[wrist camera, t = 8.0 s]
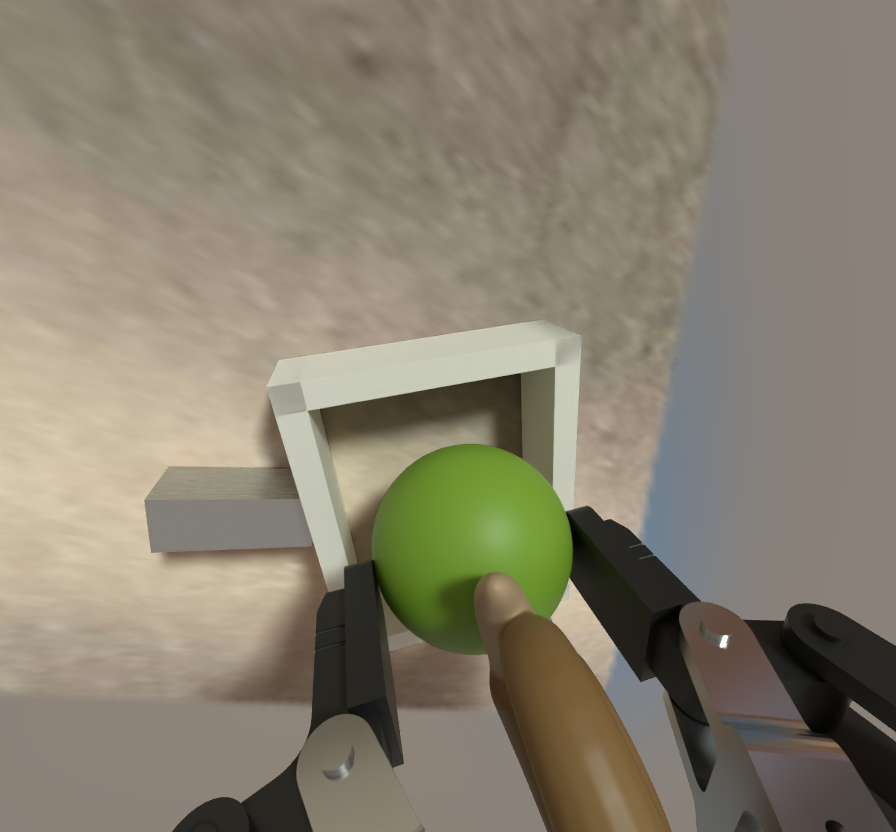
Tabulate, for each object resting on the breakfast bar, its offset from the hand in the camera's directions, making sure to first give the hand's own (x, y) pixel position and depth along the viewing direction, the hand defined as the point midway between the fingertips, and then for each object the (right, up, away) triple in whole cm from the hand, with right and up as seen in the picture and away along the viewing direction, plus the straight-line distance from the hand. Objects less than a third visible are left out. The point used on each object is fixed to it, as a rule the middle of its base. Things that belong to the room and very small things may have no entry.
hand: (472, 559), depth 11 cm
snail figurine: (-1, +1, +3) cm, 3 cm away
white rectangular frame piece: (-3, -1, +4) cm, 5 cm away
